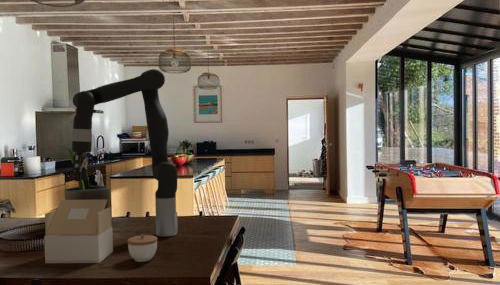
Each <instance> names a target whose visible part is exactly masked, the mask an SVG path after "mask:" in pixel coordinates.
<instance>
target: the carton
mask: <svg viewBox="0 0 500 285" xmlns="http://www.w3.org/2000/svg"><path fill="white" fill-rule="evenodd" d="M57 209H58V208H56V209H55V210H51V211H48V212H46V213H44V221H45V222H44V228H45V229H44V230H45V235H44V240H43V241H44V260H45V261H44V263H45V264H94V263H95V264H98V263H101V262H102V261H103V260H104V259H106V258H107V257H108V256H110V255H111V254H112V253H113V252H114V238H113V237H114V236H113V232H114V231H113V226H112V206H109V207H108V208H106V209H104V210H102V211H100V212H98V213H97V231H96V234H80V235H47V234H46V233H47V231H48V229H49V226H50V224H51V222H52V220H53V218H54V215H55V213H56V211H57Z"/></svg>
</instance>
